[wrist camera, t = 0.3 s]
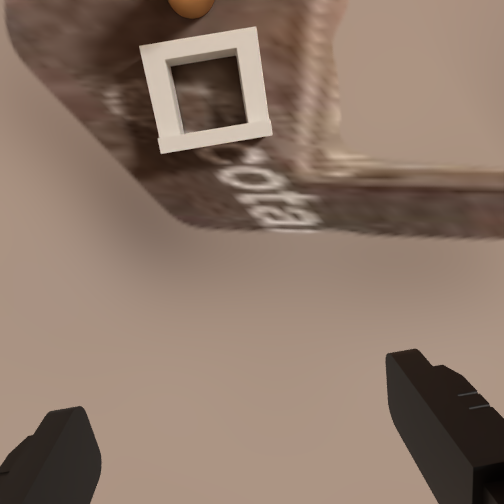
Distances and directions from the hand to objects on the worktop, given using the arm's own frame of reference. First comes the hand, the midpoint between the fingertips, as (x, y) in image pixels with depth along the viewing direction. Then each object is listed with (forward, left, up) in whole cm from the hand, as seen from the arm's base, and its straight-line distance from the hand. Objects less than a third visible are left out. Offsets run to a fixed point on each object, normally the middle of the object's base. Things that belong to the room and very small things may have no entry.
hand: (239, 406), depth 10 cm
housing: (-10, 0, -27) cm, 29 cm away
